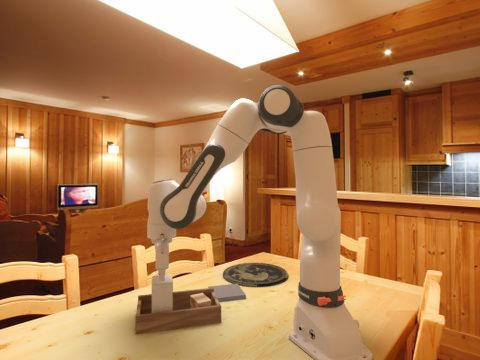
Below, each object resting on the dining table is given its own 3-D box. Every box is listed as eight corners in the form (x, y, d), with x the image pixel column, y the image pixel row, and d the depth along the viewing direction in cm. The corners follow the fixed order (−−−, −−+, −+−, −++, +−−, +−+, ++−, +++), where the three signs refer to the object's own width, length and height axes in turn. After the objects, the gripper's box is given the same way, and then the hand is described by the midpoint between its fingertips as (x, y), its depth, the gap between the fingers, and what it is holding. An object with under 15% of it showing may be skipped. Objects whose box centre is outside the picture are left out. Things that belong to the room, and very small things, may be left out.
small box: (173, 325, 88) (173, 282, 88) (151, 327, 87) (151, 284, 87) (172, 313, 96) (172, 273, 96) (152, 315, 94) (152, 275, 94)
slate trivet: (245, 298, 107) (245, 294, 107) (213, 302, 104) (213, 298, 104) (237, 287, 119) (237, 283, 119) (208, 290, 116) (208, 286, 116)
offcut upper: (211, 309, 93) (211, 300, 93) (198, 312, 91) (198, 303, 90) (202, 301, 99) (202, 292, 99) (190, 304, 97) (190, 295, 97)
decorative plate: (241, 259, 154) (296, 267, 140) (241, 263, 154) (296, 271, 140) (209, 277, 127) (274, 288, 114) (209, 281, 127) (274, 293, 114)
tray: (221, 322, 90) (221, 302, 90) (135, 334, 83) (135, 313, 83) (213, 304, 102) (213, 287, 102) (138, 313, 96) (138, 295, 95)
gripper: (174, 237, 82) (173, 286, 82) (170, 225, 102) (170, 265, 102) (150, 238, 80) (150, 288, 81) (151, 226, 100) (151, 266, 100)
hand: (161, 275), depth 91 cm, fingers open, 8 cm apart
